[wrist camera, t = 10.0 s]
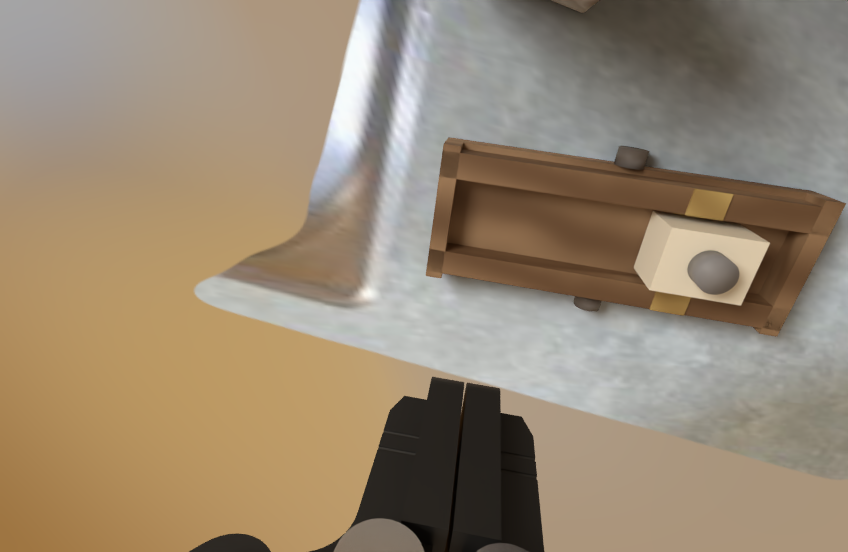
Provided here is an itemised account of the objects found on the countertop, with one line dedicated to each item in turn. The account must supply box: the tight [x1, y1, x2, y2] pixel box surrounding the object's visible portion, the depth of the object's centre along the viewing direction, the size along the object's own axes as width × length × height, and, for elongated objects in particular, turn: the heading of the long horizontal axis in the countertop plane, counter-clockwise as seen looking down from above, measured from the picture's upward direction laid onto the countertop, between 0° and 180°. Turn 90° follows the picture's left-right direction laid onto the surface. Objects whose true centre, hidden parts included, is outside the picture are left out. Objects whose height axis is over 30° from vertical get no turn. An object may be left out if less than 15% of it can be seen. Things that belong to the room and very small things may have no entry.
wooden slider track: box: [426, 138, 846, 336], centre depth 34 cm, size 12×26×4 cm, turn 83°
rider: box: [634, 211, 770, 306], centre depth 31 cm, size 4×6×6 cm
